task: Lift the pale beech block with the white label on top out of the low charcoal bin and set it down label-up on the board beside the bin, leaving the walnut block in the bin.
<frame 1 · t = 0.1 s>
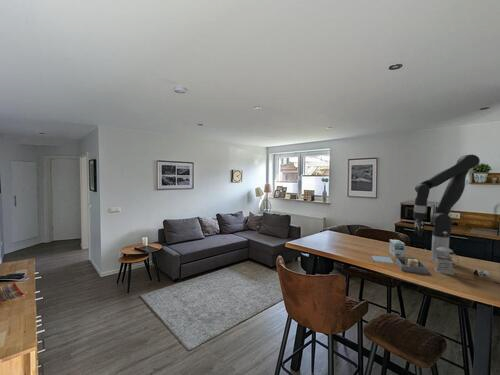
hand: (418, 234, 169), 17 cm above the table, tool pointing down, fingers open, 8 cm apart
placing board: (382, 259, 165), on the table
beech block: (412, 269, 146), point 1 cm above the table, touching parts bin
parts bin: (410, 268, 149), on the table
walnut block: (409, 265, 153), point 1 cm above the table, touching parts bin
light bulb box: (396, 255, 175), on the table
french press: (445, 272, 144), on the table
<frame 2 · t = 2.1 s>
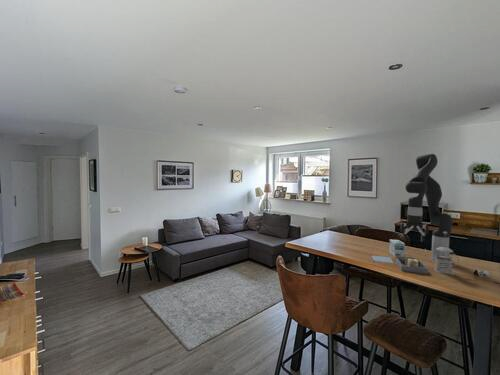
hand: (413, 240, 146), 19 cm above the table, tool pointing down, fingers open, 8 cm apart
nothing on the table moved.
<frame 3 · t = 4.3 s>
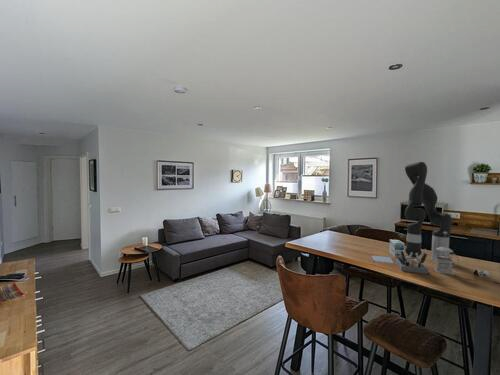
hand: (412, 268, 146), 2 cm above the table, tool pointing down, fingers closed on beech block, 4 cm apart
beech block: (412, 269, 146), point 1 cm above the table, touching gripper, parts bin
everything else where it was.
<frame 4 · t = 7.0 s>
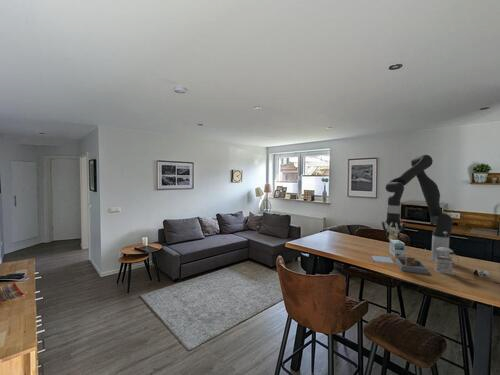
hand: (392, 237, 158), 17 cm above the table, tool pointing down, fingers closed on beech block, 4 cm apart
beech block: (392, 238, 158), point 16 cm above the table, touching gripper
everything else where it was.
when the fingers open (3 cm above the table, at t = 9.9 s): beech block drops 1 cm, resting on placing board.
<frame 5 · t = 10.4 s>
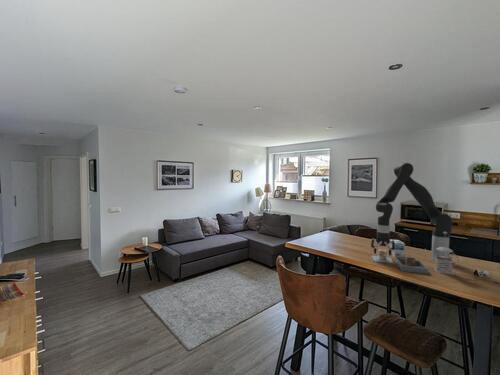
hand: (382, 254, 165), 4 cm above the table, tool pointing down, fingers open, 8 cm apart
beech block: (382, 259, 165), point 1 cm above the table, touching placing board
everything else where it was.
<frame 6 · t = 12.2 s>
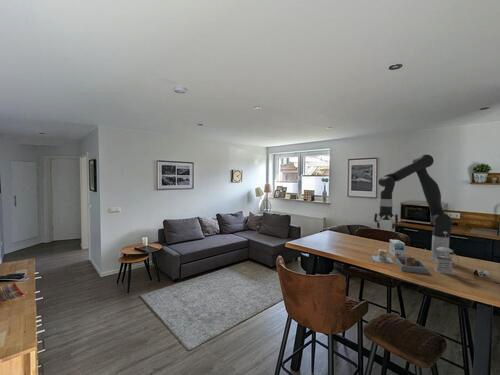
hand: (385, 228, 165), 22 cm above the table, tool pointing down, fingers open, 8 cm apart
nothing on the table moved.
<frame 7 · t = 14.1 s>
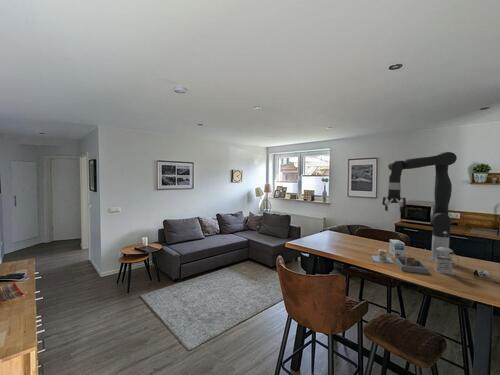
hand: (393, 211, 170), 33 cm above the table, tool pointing down, fingers open, 8 cm apart
nothing on the table moved.
at the end: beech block inside the target area (0.0 cm from its centre), point 0.6 cm above the table; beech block tilted 0°; walnut block moved 0.0 cm from its start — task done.
